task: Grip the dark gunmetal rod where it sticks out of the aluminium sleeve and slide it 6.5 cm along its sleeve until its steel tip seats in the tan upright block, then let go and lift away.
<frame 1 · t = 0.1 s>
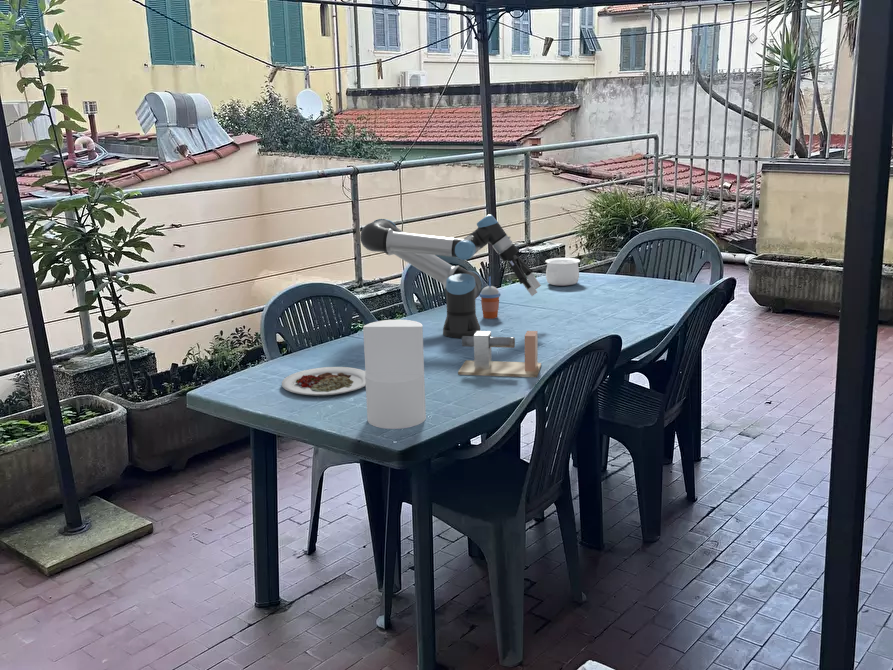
hand: (536, 290, 354), 15 cm above the table, tool tilted 35°, fingers open, 13 cm apart
pot: (562, 284, 442), on the table
tan upright block: (531, 371, 299), resting on base board
rod: (488, 341, 299), point 10 cm above the table, slide at 0.0 cm
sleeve: (483, 369, 302), resting on base board
cup with straw: (490, 317, 377), on the table
plated food: (327, 385, 291), on the table
base board: (500, 370, 301), on the table
cylinder: (396, 419, 257), on the table
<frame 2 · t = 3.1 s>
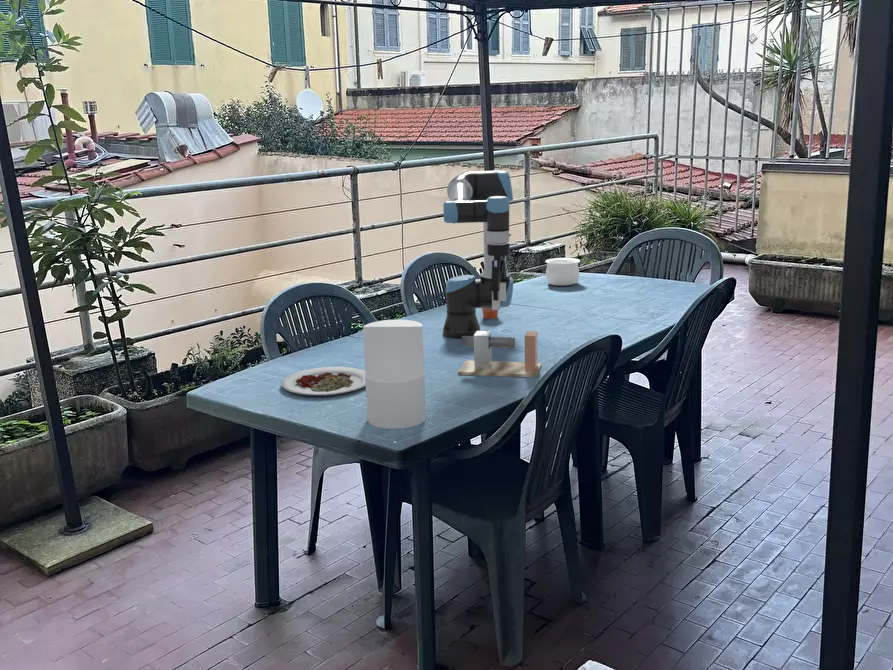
hand: (499, 305, 296), 23 cm above the table, tool pointing down, fingers open, 13 cm apart
nothing on the table moved.
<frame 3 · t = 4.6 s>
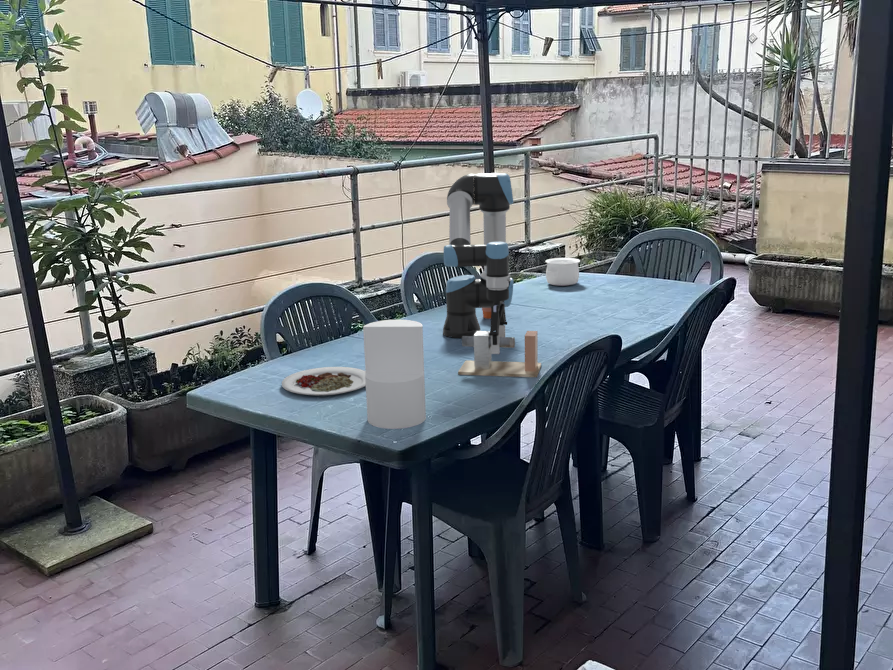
hand: (498, 348, 299), 8 cm above the table, tool pointing down, fingers open, 13 cm apart
nothing on the table moved.
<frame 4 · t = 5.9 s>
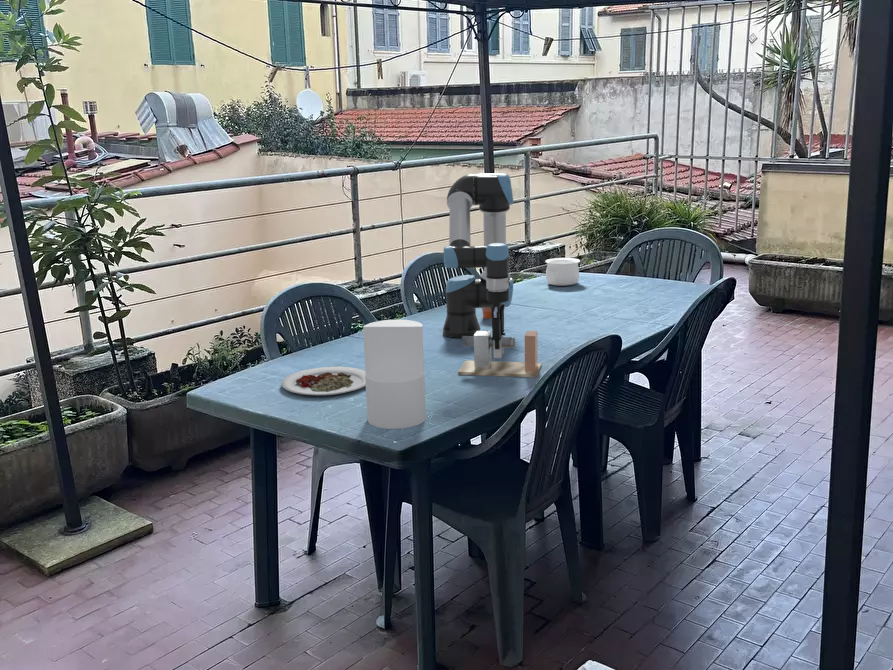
hand: (498, 355, 300), 5 cm above the table, tool pointing down, fingers closed on rod, 4 cm apart
rod: (488, 341, 299), point 10 cm above the table, slide at 0.0 cm, touching gripper
everything else where it was.
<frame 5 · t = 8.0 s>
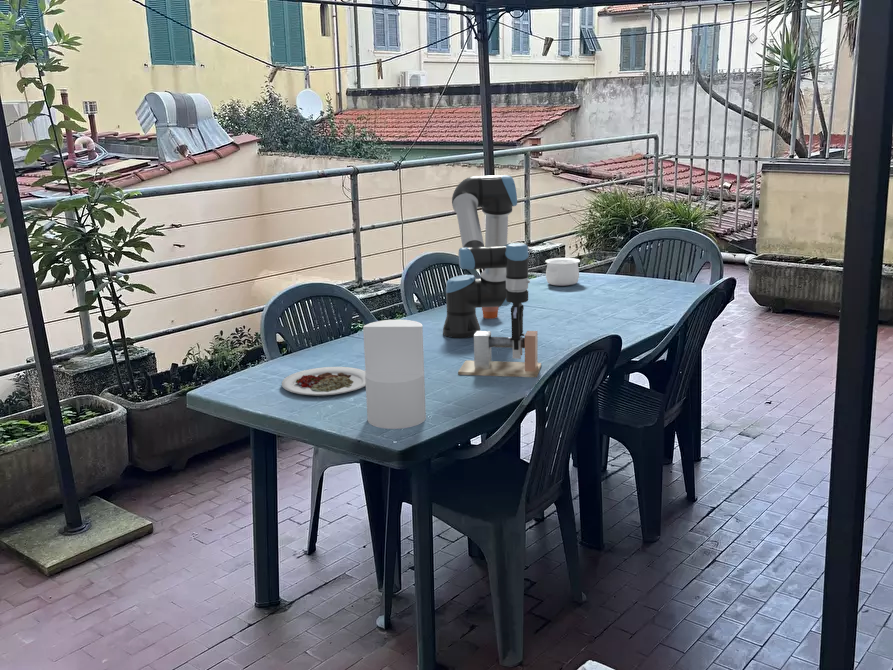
hand: (517, 356, 299), 5 cm above the table, tool pointing down, fingers closed on rod, 4 cm apart
rod: (507, 342, 298), point 10 cm above the table, slide at 6.6 cm, touching gripper
everything else where it was.
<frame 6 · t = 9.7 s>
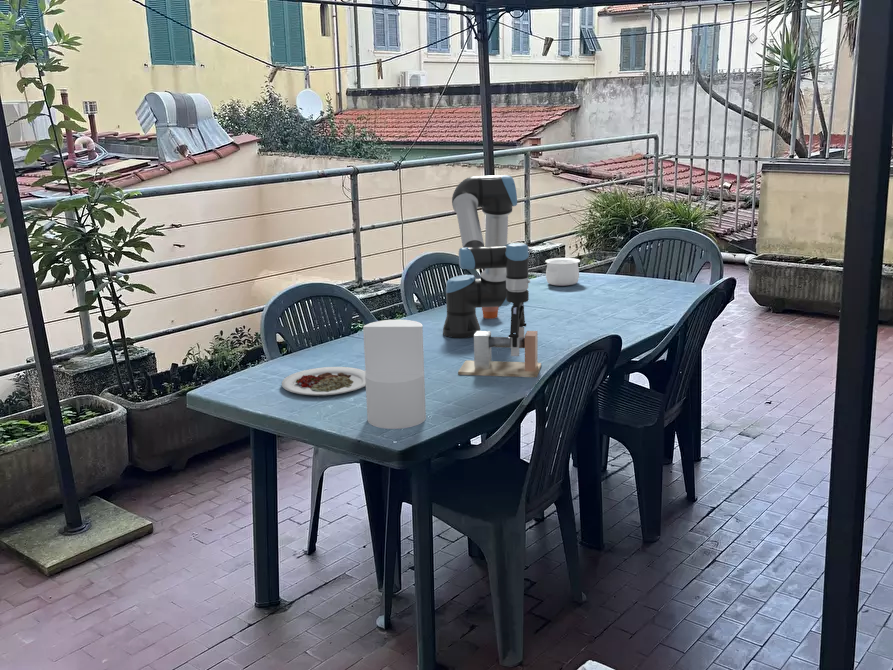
hand: (517, 350, 298), 7 cm above the table, tool pointing down, fingers open, 13 cm apart
rod: (507, 342, 298), point 10 cm above the table, slide at 6.5 cm
everything else where it was.
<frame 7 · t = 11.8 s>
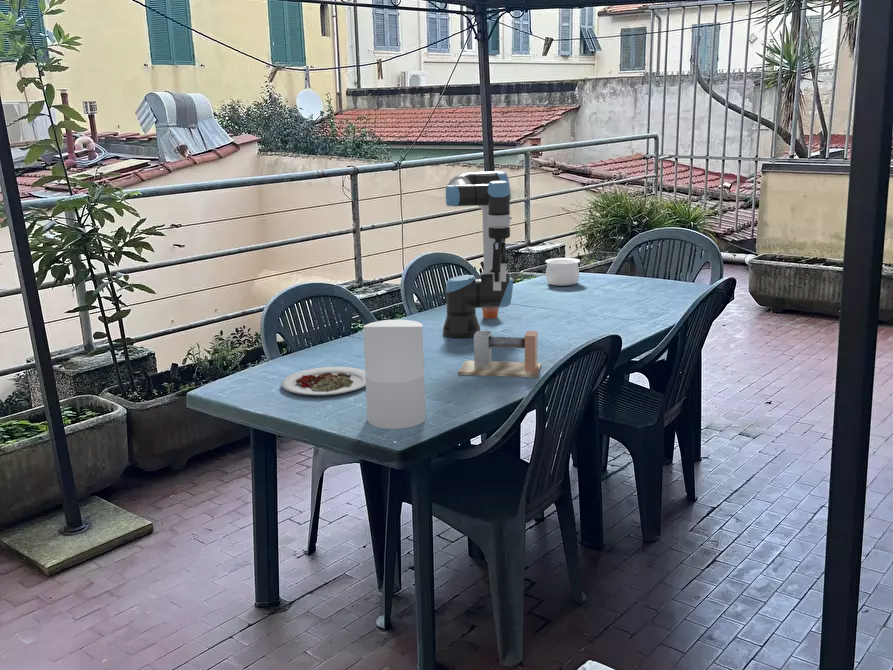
hand: (499, 285, 308), 27 cm above the table, tool pointing down, fingers open, 13 cm apart
nothing on the table moved.
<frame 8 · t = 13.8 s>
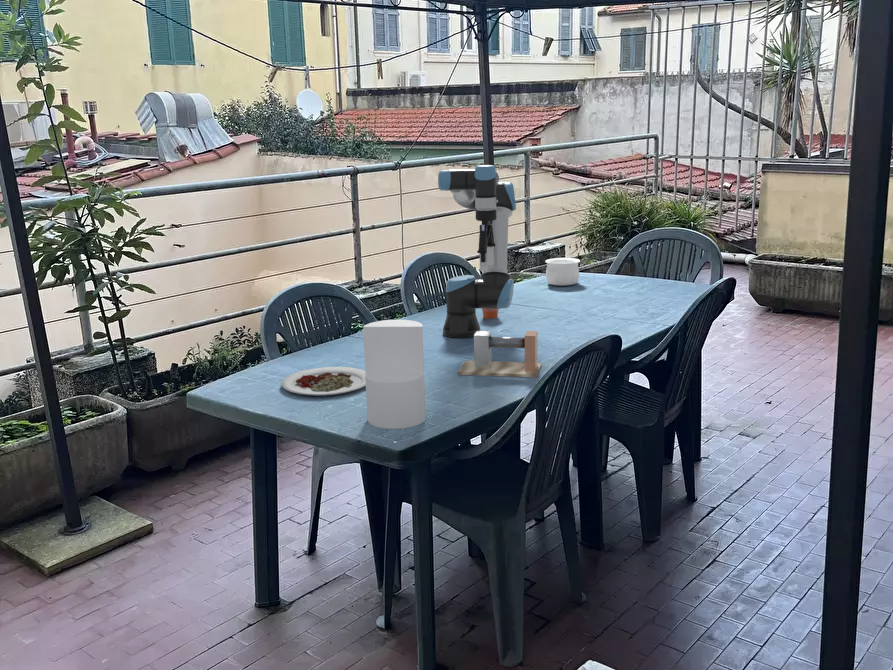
hand: (486, 267, 317), 32 cm above the table, tool pointing down, fingers open, 13 cm apart
nothing on the table moved.
at the end: rod slide at 6.5 cm; the gripper is holding nothing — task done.
